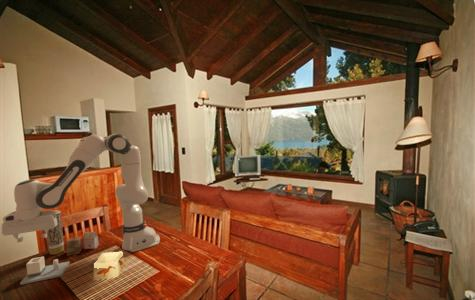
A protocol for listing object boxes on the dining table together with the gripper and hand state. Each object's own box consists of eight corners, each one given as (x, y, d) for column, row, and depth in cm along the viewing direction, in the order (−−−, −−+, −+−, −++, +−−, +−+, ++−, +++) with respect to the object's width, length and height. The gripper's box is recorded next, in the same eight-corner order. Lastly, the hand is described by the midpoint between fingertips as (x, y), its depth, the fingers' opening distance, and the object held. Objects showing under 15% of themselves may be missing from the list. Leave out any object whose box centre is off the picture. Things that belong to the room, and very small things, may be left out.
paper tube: (55, 255, 124) (51, 214, 122) (46, 254, 125) (42, 214, 123) (67, 249, 131) (63, 210, 128) (58, 248, 132) (54, 209, 130)
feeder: (81, 249, 131) (80, 236, 130) (79, 253, 127) (78, 240, 126) (69, 251, 129) (68, 238, 128) (66, 255, 124) (65, 242, 124)
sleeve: (45, 268, 111) (44, 256, 110) (40, 275, 106) (39, 261, 105) (33, 271, 109) (31, 258, 108) (27, 277, 104) (26, 264, 103)
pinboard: (69, 263, 117) (68, 252, 116) (61, 276, 107) (60, 264, 106) (32, 270, 111) (31, 259, 110) (20, 285, 101) (19, 272, 100)
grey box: (87, 245, 135) (86, 230, 134) (98, 245, 135) (97, 230, 134) (83, 249, 131) (82, 233, 130) (95, 248, 131) (93, 233, 130)
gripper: (58, 207, 111) (60, 232, 112) (6, 213, 103) (9, 240, 105) (53, 211, 105) (55, 238, 107) (-3, 218, 98) (1, 247, 99)
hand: (32, 239), depth 106 cm, fingers open, 8 cm apart
